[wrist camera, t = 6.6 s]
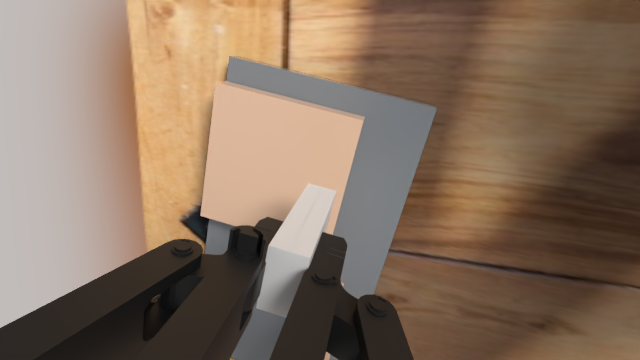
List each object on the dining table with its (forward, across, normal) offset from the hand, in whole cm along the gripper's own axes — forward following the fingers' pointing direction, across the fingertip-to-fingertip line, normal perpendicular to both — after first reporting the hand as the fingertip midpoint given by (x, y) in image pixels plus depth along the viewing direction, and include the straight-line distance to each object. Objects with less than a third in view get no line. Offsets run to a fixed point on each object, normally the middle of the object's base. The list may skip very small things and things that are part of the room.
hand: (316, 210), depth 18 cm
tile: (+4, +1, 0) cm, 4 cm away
